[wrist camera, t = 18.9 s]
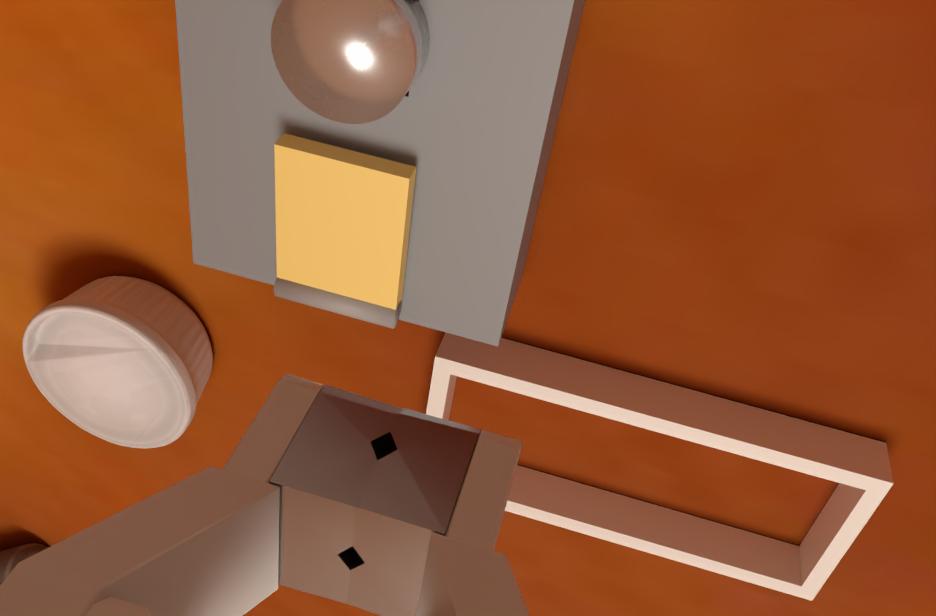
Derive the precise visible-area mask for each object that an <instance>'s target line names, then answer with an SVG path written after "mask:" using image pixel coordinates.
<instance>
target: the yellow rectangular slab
mask: <svg viewBox="0 0 936 616" xmlns="http://www.w3.org/2000/svg"><path fill="white" fill-rule="evenodd" d="M274 153H275V207H276V261H277V278H276V281H275V286H274V295H275V296H276V297H280V298H284V299H287V300H291V301H294V302H298V303H302V304H305V305H309V306H313V307H316V308H320V309H323V310H327V311H331V312H334V313H338V314H342V315H345V316H349V317H352V318H356V319H360V320H363V321H367V322H371V323H374V324H378V325H382V326H385V327H389V328H392V329H394V328H395V327H396V325H397V322H398V319H399V316H400V312H401V307H402V296H403V287H404V278H405V268H406V259H407V250H408V241H409V231H410V222H411V213H412V203H413V194H414V185H415V176H416V167H415V166H411V165H407V164H403V163H399V162H395V161H391V160H387V159H383V158H380V157H376V156H372V155H368V154H364V153H360V152H356V151H352V150H348V149H344V148H340V147H336V146H333V145H329V144H325V143H321V142H317V141H313V140H309V139H305V138H301V137H297V136H293V135H289V134H286V133H284V134H283V135H282V136H281V137H280V138H279V139H278V141H277V142H276V143H275V144H274Z"/></svg>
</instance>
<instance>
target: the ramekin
mask: <svg viewBox="0 0 936 616" xmlns="http://www.w3.org/2000/svg"><path fill="white" fill-rule="evenodd" d="M22 343H23V345H22V348H23V356H24V360H25V363H26V366H27V369H28V371H29V373H30V375H31V377H32V379H33V381H34V383H35V384H36V386H37V387H38V389H39V390H40V391H41V393H42V394H43V395H44V396H45V397H46V399H47V400H48V401H49V402H50V403H51V404H52V405H53V406H54V407H55V408H56V409H57V410H58V411H59V412H60V413H61V414H63V415H64V416H65V417H66V418H68V419H69V420H70V421H72V422H73V423H74V424H76V425H77V426H79V427H80V428H82V429H84V430H85V431H87V432H89V433H91V434H93V435H95V436H97V437H99V438H101V439H104V440H106V441H109V442H111V443H114V444H117V445H121V446H127V447H132V448H156V447H161V446H165V445H168V444H170V443H172V442H173V441H175V440H177V439H178V438H179V437H180V436H181V435H182V434H183V433H184V431H185V430H186V429H187V427H188V426H189V424H190V423H191V421H192V419H193V417H194V413H195V409H196V404H197V402H198V400H199V398H200V396H201V394H202V392H203V389H204V387H205V385H206V383H207V381H208V379H209V377H210V373H211V370H212V363H213V353H212V349H211V344H210V341H209V337H208V335H207V332H206V330H205V328H204V326H203V324H202V323H201V321H200V320H199V318H198V317H197V316H196V314H195V313H194V312H193V311H192V310H191V309H190V308H189V307H188V306H187V305H186V304H185V303H184V302H183V301H182V300H181V299H179V298H178V297H177V296H175V295H174V294H173V293H171V292H170V291H168V290H166V289H165V288H163V287H161V286H159V285H157V284H155V283H152V282H150V281H147V280H143V279H140V278H135V277H127V276H110V277H104V278H100V279H96V280H94V281H93V282H90V283H88V284H86V285H85V286H83V287H81V288H80V289H78V290H77V291H75V292H73V293H72V294H70V295H69V296H67V297H66V298H64V299H63V300H60V301H56V302H54V303H51V304H49V305H48V306H46V307H44V308H43V309H42V310H41V311H40V312H38V313H37V314H36V315H35V316H34V317H33V318H32V320H31V321H30V322H29V324H28V325H27V327H26V329H25V332H24V336H23V341H22Z"/></svg>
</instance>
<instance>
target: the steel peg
mask: <svg viewBox="0 0 936 616" xmlns="http://www.w3.org/2000/svg"><path fill="white" fill-rule="evenodd" d="M429 46H430V36H429V28H428V23H427V19H426V16H425V13H424V11H423V9H422V6H421V4H420V2H419V0H283V1H282V2H281V3H280V5H279V7H278V9H277V11H276V13H275V16H274V19H273V23H272V27H271V49H272V54H273V58H274V61H275V65H276V67H277V70H278V72H279V74H280V76H281V78H282V80H283V81H284V83H285V84H286V86H287V87H288V89H289V90H290V91H291V92H292V94H293V95H294V96H295V97H296V98H297V99H298V100H299V101H300V102H301V103H302V104H303V105H305V106H306V107H307V108H309V109H310V110H311V111H313V112H315V113H317V114H318V115H320V116H322V117H324V118H327V119H329V120H332V121H336V122H340V123H345V124H364V123H368V122H372V121H375V120H378V119H380V118H382V117H384V116H386V115H387V114H388V113H390V112H391V111H392V110H394V108H395V107H396V106H397V105H398V104H399V103H400V102H401V100H402V99H403V98H404V96H405V95H406V94H407V92H408V91H409V89H410V88H411V87H412V85H413V84H414V83H415V81H416V80H417V79H418V77H419V76H420V74H421V73H422V71H423V69H424V67H425V64H426V61H427V58H428V54H429Z"/></svg>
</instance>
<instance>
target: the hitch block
mask: <svg viewBox="0 0 936 616" xmlns="http://www.w3.org/2000/svg"><path fill="white" fill-rule="evenodd" d="M282 1H283V0H175V5H176V19H177V33H178V48H179V62H180V76H181V91H182V105H183V119H184V134H185V148H186V162H187V177H188V191H189V205H190V219H191V234H192V248H193V262H194V263H195V264H198V265H202V266H206V267H209V268H213V269H217V270H220V271H224V272H227V273H231V274H235V275H238V276H242V277H246V278H249V279H253V280H257V281H260V282H264V283H268V284H271V285H275V281H276V278H277V261H276V207H275V153H274V144H275V143H276V142H277V141H278V139H279V138H280V137H281V136H282V135H283V134H284V133H286V134H289V135H293V136H297V137H301V138H305V139H309V140H313V141H317V142H321V143H325V144H329V145H333V146H336V147H340V148H344V149H348V150H352V151H356V152H360V153H364V154H368V155H372V156H376V157H380V158H383V159H387V160H391V161H395V162H399V163H403V164H407V165H411V166H415V167H416V176H415V185H414V194H413V203H412V213H411V222H410V231H409V241H408V250H407V259H406V268H405V278H404V287H403V296H402V307H401V312H400V316H399V320H402V321H406V322H410V323H413V324H417V325H421V326H424V327H428V328H432V329H435V330H439V331H443V332H446V333H450V334H453V335H457V336H461V337H464V338H468V339H472V340H475V341H479V342H483V343H486V344H490V345H494V346H497V347H498V345H499V342H500V340H501V337H502V334H503V331H504V328H505V325H506V322H507V319H508V316H509V313H510V311H511V308H512V305H513V302H514V299H515V296H516V293H517V290H518V287H519V284H520V282H521V279H522V275H523V270H524V266H525V262H526V257H527V253H528V248H529V244H530V240H531V235H532V231H533V226H534V222H535V218H536V213H537V209H538V204H539V200H540V196H541V191H542V187H543V183H544V178H545V174H546V169H547V165H548V161H549V156H550V152H551V147H552V143H553V139H554V134H555V130H556V125H557V121H558V117H559V112H560V108H561V104H562V99H563V95H564V90H565V86H566V82H567V77H568V73H569V68H570V64H571V60H572V55H573V51H574V46H575V42H576V38H577V33H578V29H579V25H580V20H581V16H582V11H583V7H584V3H585V0H419V2H420V4H421V6H422V9H423V11H424V13H425V16H426V19H427V23H428V28H429V36H430V46H429V54H428V58H427V61H426V64H425V67H424V69H423V71H422V73H421V74H420V76H419V77H418V79H417V80H416V81H415V83H414V84H413V85H412V87H411V88H410V89H409V91H408V92H407V94H406V95H405V96H404V98H403V99H402V100H401V102H400V103H399V104H398V105H397V106H396V107H395V108H394V110H392V111H391V112H390V113H388V114H387V115H386V116H384V117H382V118H380V119H378V120H375V121H372V122H368V123H364V124H345V123H340V122H336V121H332V120H329V119H327V118H324V117H322V116H320V115H318V114H317V113H315V112H313V111H311V110H310V109H309V108H307V107H306V106H305V105H303V104H302V103H301V102H300V101H299V100H298V99H297V98H296V97H295V96H294V95H293V94H292V92H291V91H290V90H289V89H288V87H287V86H286V84H285V83H284V81H283V80H282V78H281V76H280V74H279V72H278V70H277V67H276V65H275V61H274V58H273V54H272V49H271V27H272V23H273V19H274V16H275V13H276V11H277V9H278V7H279V5H280V3H281V2H282Z"/></svg>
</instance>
